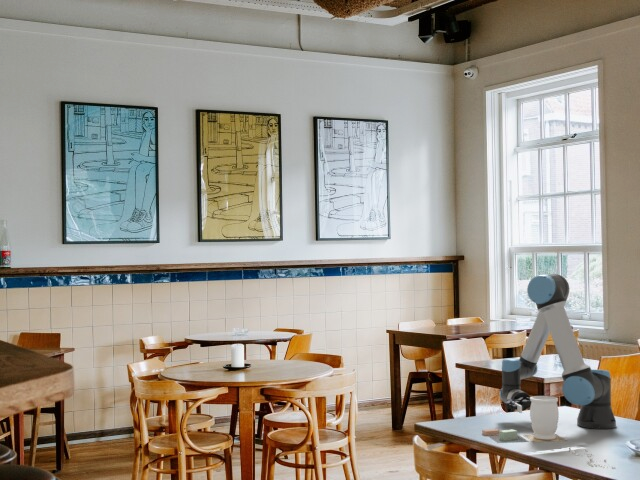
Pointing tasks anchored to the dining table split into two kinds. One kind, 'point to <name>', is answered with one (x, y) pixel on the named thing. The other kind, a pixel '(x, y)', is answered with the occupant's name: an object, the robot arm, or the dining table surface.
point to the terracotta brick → (490, 432)
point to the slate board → (519, 439)
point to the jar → (544, 416)
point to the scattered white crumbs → (590, 459)
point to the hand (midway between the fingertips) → (538, 409)
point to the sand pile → (544, 440)
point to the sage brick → (508, 434)
